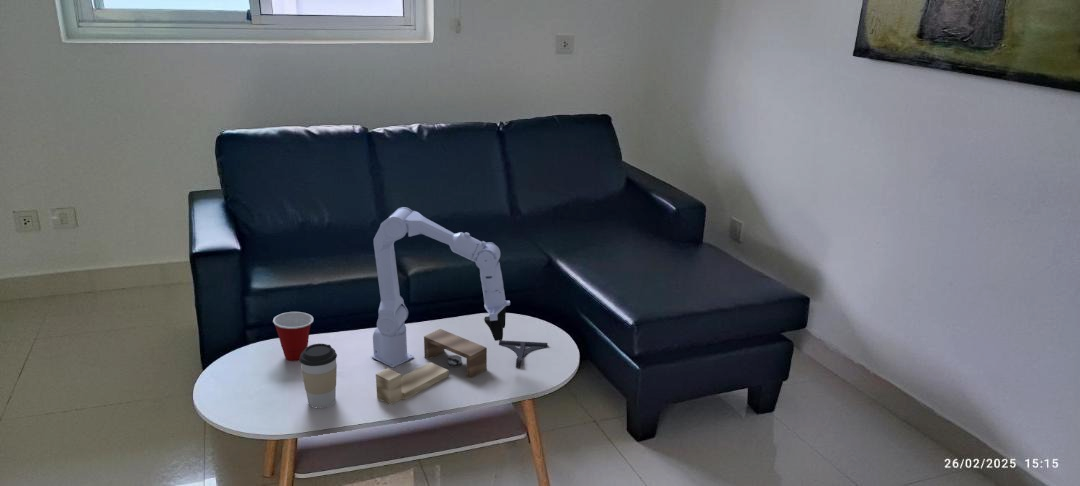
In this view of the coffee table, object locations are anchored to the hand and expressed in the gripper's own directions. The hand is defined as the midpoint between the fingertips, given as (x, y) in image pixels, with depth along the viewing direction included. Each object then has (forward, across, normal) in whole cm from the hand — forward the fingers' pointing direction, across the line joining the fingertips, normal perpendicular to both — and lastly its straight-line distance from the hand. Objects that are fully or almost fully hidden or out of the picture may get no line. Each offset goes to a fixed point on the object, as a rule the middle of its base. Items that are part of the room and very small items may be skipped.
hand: (499, 333), depth 204 cm
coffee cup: (+5, -21, +45) cm, 50 cm away
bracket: (+12, +8, -4) cm, 15 cm away
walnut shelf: (+8, +2, +14) cm, 17 cm away
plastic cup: (+2, +2, +59) cm, 59 cm away
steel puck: (+9, +2, +14) cm, 17 cm away
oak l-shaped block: (+7, -12, +24) cm, 27 cm away
